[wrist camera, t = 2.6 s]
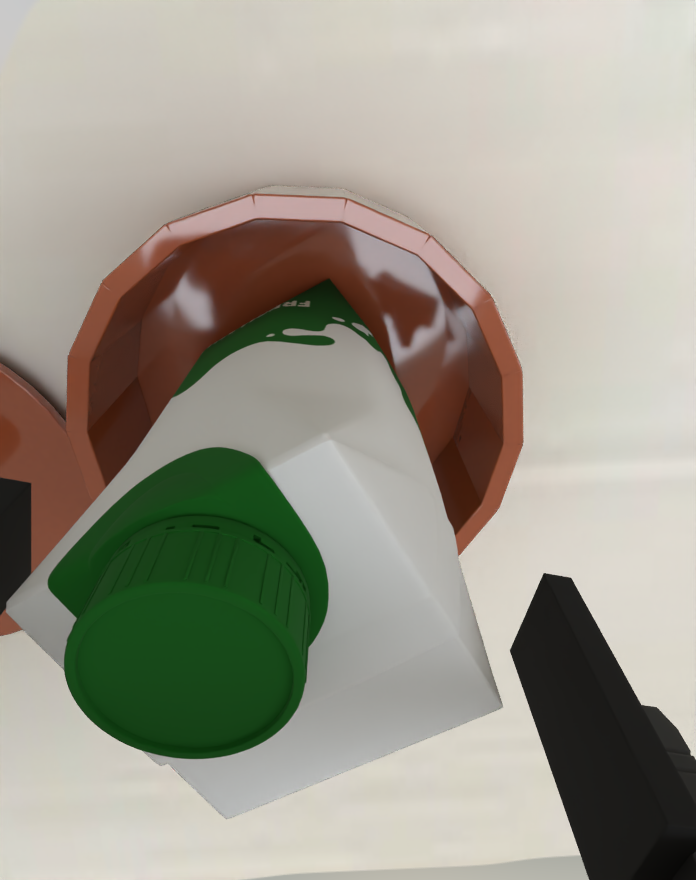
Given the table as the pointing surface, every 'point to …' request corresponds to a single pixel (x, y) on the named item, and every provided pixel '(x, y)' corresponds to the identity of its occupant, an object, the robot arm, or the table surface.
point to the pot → (276, 281)
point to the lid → (39, 467)
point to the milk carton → (269, 571)
